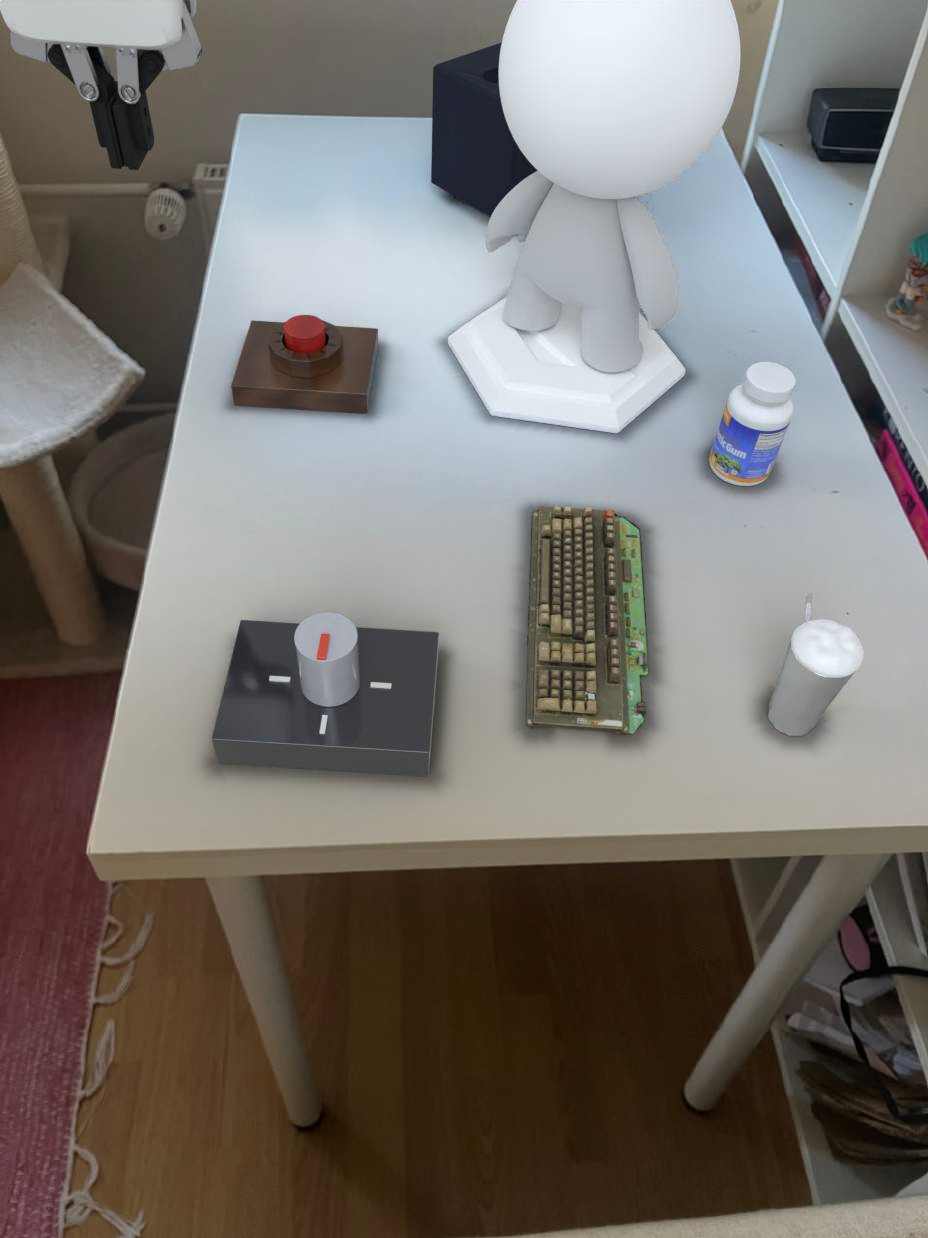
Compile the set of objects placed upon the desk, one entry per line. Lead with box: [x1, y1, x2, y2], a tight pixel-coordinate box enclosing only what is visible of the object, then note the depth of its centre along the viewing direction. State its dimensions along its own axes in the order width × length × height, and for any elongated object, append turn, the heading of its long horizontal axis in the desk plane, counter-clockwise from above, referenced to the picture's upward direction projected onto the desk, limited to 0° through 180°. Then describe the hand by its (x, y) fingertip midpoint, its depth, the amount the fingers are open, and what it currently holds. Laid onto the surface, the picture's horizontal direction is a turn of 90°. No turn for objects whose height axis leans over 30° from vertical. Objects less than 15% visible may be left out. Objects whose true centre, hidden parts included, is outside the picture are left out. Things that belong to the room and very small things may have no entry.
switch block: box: [230, 319, 379, 414], centre depth 92 cm, size 12×10×4 cm
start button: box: [284, 314, 326, 353], centre depth 90 cm, size 4×4×2 cm
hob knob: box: [294, 611, 360, 707], centre depth 65 cm, size 4×4×5 cm
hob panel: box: [211, 619, 440, 777], centre depth 68 cm, size 14×10×3 cm
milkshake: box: [767, 593, 865, 737], centre depth 67 cm, size 5×5×10 cm
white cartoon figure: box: [447, 0, 741, 434], centre depth 83 cm, size 20×23×35 cm
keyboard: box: [525, 504, 650, 735], centre depth 75 cm, size 22×9×2 cm, turn 176°
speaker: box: [430, 41, 538, 218], centre depth 112 cm, size 22×13×15 cm, turn 133°
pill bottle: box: [708, 361, 797, 487], centre depth 84 cm, size 5×5×10 cm
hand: (130, 158), depth 63 cm, fingers closed
